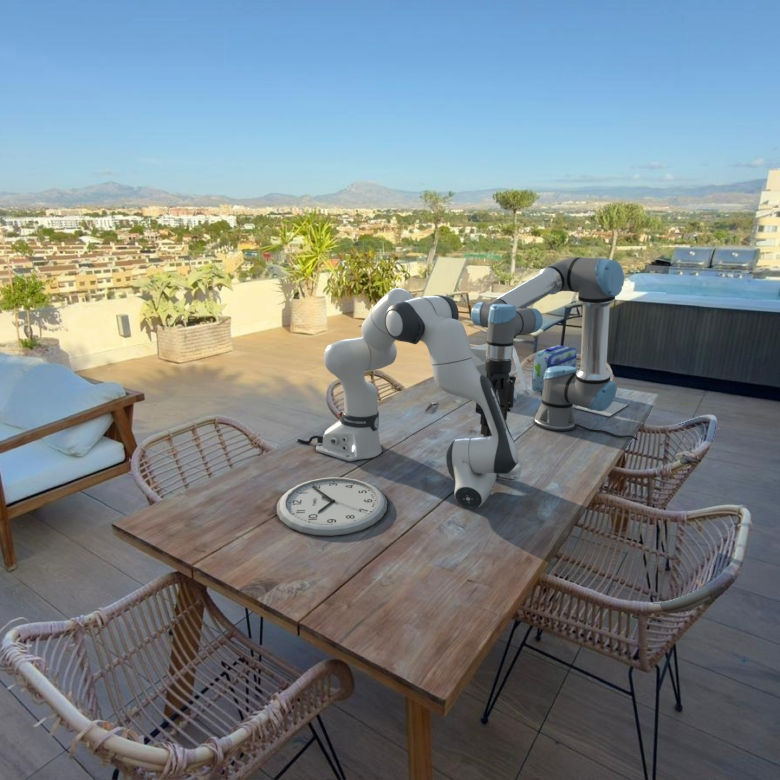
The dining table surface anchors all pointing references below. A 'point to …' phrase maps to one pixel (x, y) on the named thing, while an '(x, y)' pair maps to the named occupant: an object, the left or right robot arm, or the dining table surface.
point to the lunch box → (551, 363)
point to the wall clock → (331, 506)
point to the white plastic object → (479, 362)
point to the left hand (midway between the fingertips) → (491, 455)
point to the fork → (432, 403)
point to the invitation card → (609, 411)
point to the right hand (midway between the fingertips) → (492, 432)
